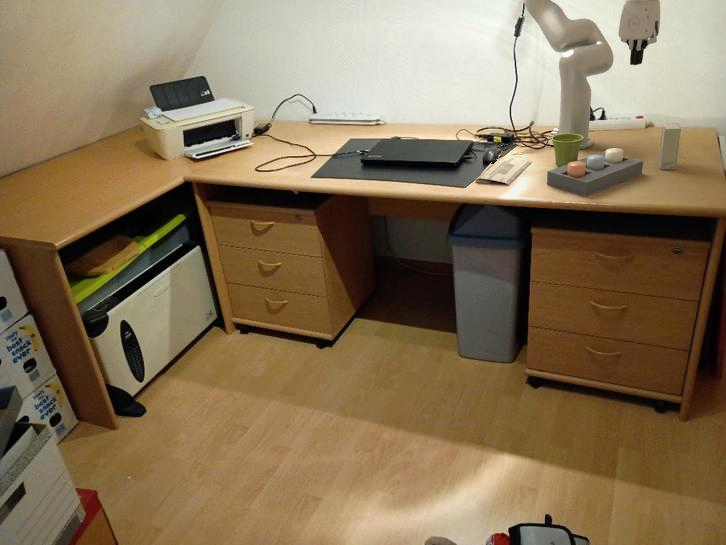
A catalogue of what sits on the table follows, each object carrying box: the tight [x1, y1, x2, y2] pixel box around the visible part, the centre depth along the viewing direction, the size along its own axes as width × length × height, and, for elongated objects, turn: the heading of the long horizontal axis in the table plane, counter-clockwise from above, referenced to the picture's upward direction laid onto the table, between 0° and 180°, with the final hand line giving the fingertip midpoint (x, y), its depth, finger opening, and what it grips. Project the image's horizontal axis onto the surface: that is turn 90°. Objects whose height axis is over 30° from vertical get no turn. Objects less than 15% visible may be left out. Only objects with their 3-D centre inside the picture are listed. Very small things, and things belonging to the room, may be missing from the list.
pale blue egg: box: [586, 154, 605, 171], centre depth 176 cm, size 5×5×4 cm
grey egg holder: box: [546, 151, 644, 197], centre depth 177 cm, size 14×24×4 cm, turn 122°
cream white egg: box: [605, 147, 624, 164], centre depth 179 cm, size 5×5×4 cm
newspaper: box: [474, 156, 532, 186], centre depth 191 cm, size 23×12×2 cm, turn 149°
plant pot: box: [551, 133, 584, 167], centre depth 190 cm, size 9×9×9 cm
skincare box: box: [658, 122, 682, 170], centre depth 178 cm, size 6×4×12 cm
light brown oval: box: [567, 160, 586, 178], centre depth 172 cm, size 5×5×4 cm
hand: (635, 64), depth 174 cm, fingers closed
